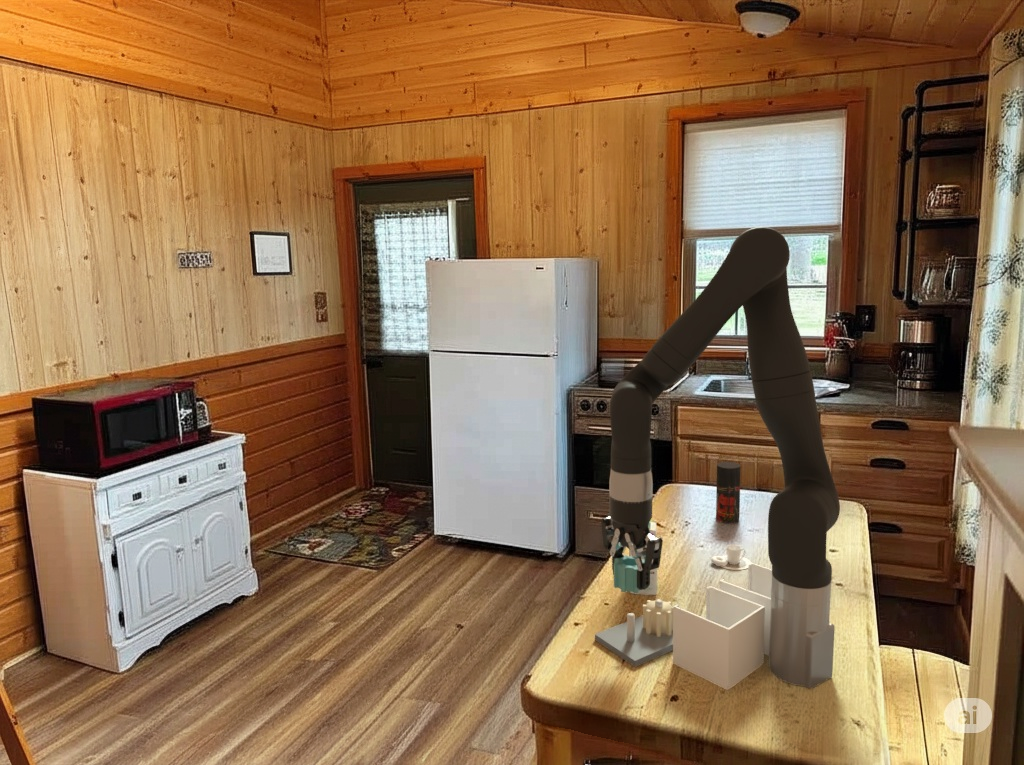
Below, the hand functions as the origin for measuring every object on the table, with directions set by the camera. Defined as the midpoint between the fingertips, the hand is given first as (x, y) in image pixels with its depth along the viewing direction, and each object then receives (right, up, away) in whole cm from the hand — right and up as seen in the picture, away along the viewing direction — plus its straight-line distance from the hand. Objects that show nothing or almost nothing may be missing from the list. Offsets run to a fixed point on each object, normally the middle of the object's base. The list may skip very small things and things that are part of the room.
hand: (630, 581), depth 131 cm
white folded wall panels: (+20, -13, 0) cm, 24 cm away
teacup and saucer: (+28, -6, +38) cm, 47 cm away
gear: (0, -1, 0) cm, 1 cm away
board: (+3, -12, +4) cm, 13 cm away
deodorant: (+36, -1, +61) cm, 71 cm away
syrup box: (+7, -9, +24) cm, 27 cm away
